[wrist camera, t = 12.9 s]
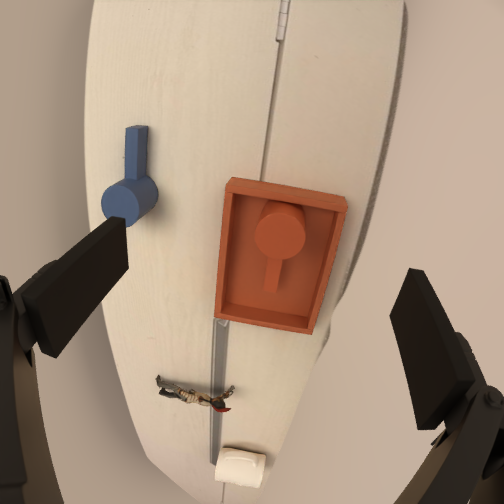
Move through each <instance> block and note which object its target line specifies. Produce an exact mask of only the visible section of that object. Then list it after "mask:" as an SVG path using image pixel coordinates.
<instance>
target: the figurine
mask: <svg viewBox="0 0 504 504" xmlns="http://www.w3.org/2000/svg"><path fill="white" fill-rule="evenodd" d="M156 380H157V385H158V386H159V388H160V387H162V389H161V390H160V392H159V394H160V395H163V396H166V397H168V398H178V399H180V400H181V399H182V400H181V401H184V402H186V403H198V404H200V405H203V406H212V407H213V408H214V409H215V410H216V411H217V412H227V411H229V410H231V408H225V402H224V401H223V399H225V398H228V397H229V392H232V393H231V394H230V395H232V394H233V391H232V390H233V389H235V387H234V386H231V388H230V389H229V390H228V391H225V392H226V393H224V394H222V395H220V396H218V397H216V398H214V399H212V398H211V397H209V396H208V395H207V394H204V393H199V392H196V391H194V390H193V389H191V390H192V391H194V392H191V390H190V391H187V390H184V389H181V388H180V387H178V386H176V385H174V384H169V383H165V382H163V381H161V379H160V376H159V375H158V376H157V379H156ZM165 388H166V389H171V390H173V391H174V392H167V391H165Z"/></svg>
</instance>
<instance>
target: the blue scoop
mask: <svg viewBox="0 0 504 504" xmlns="http://www.w3.org/2000/svg"><path fill="white" fill-rule="evenodd" d="M147 134H148V126H139V125H136V126H131V127H128V128H126V136H125V178H124V179H123V180H121V181H119V182H117V183H115V184H114V185H112V186H110V187H109V188H107V189H106V190H105V192H104V193H103V196H102V199H101V207H102V211H103V213H104V215H105V217H106V218H107V219H108V218H110V217H111V216H115V217H122V218H125V220H126V227H130V226H132V225H133V224H134V223H135V222H137V221H138V220H139V219H140V218H141V217H142V216H144V215H145V214H146V213H147V212H148V211H150V210H151V209H152V208H153V207H154V206H155V204H156V202H157V199H158V190H157V187H156V185H155V183H154V181H153V180H152V179H151V178H150V177H148V176H147V175H146V156H147Z"/></svg>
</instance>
